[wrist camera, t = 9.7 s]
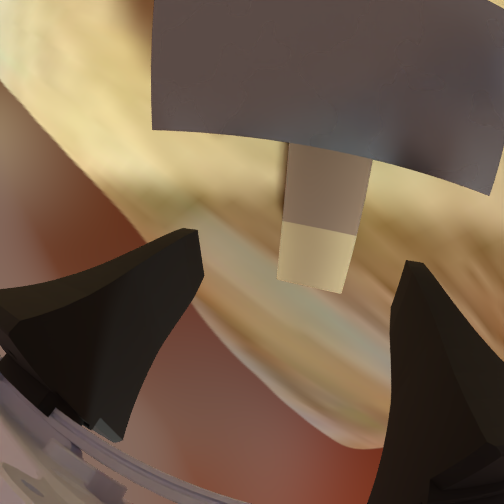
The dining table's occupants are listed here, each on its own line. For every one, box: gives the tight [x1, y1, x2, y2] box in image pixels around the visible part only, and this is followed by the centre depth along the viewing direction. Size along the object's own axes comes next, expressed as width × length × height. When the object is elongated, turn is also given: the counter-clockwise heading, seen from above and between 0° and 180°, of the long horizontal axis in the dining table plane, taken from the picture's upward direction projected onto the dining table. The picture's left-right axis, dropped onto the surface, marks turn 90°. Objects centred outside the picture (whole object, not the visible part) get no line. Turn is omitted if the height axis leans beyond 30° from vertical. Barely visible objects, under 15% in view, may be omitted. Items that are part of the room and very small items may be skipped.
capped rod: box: [277, 143, 373, 294], centre depth 10 cm, size 3×14×3 cm, turn 178°
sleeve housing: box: [151, 0, 504, 196], centre depth 8 cm, size 11×6×5 cm, turn 87°
